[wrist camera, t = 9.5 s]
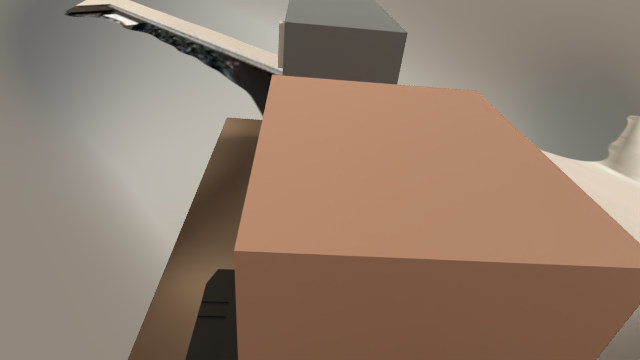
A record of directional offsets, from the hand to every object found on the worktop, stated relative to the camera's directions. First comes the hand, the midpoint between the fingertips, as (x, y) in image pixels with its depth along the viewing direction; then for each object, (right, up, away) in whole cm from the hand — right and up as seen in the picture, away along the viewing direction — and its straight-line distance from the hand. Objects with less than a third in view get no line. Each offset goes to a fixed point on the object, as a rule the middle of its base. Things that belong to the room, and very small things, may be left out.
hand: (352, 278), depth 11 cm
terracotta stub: (-1, -7, +2) cm, 7 cm away
